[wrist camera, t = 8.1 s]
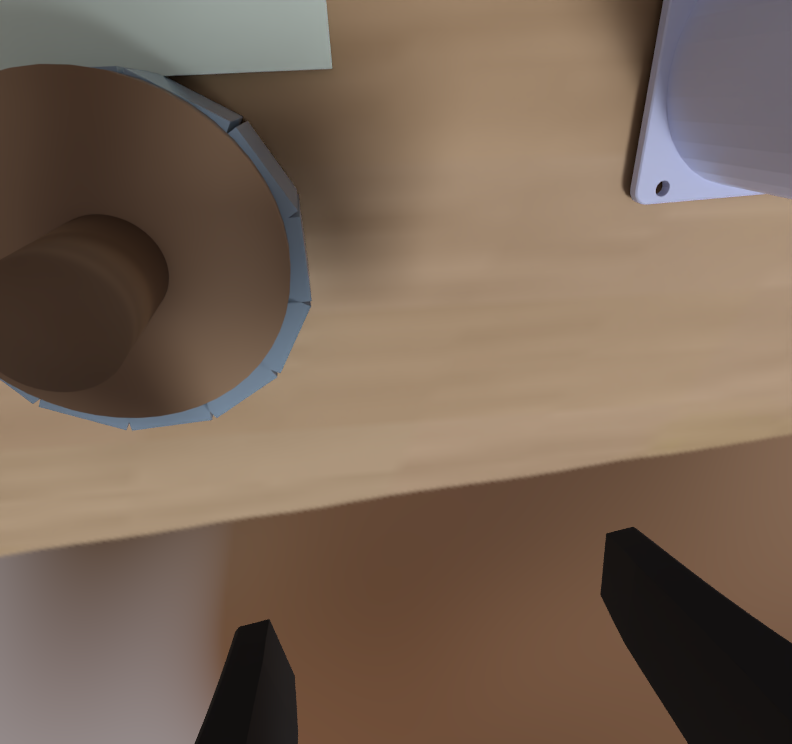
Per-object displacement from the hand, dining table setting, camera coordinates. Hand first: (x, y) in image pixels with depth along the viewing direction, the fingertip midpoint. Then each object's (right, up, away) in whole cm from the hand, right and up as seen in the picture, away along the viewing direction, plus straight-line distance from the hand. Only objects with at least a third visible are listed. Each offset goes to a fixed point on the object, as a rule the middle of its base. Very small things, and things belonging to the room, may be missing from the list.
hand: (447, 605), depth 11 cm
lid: (-8, +8, +2) cm, 11 cm away
